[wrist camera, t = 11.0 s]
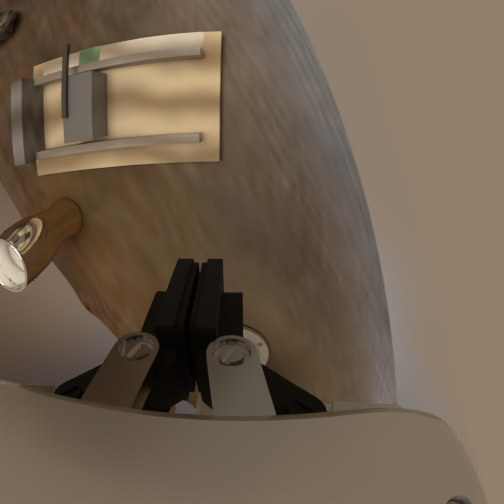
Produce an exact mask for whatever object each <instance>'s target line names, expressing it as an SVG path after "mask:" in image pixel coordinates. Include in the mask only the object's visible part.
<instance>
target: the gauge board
mask: <svg viewBox="0 0 504 504" xmlns="http://www.w3.org/2000/svg"><path fill="white" fill-rule="evenodd" d="M221 56H222V32H221V31H220V32H194V33H181V34H171V35H162V36H154V37H147V38H141V39H135V40H129V41H124V42H119V43H114V44H109V45H104V46H97V47H92V48H89V49H85V50H81V51H80V52H77V53H73V54H70V55H69V73H68V76H71V75H75V74H79V73H83V72H87V71H97V72H101V73H106V119H107V136H104V137H100V138H96V139H91V140H84V141H78V142H72V143H66V144H64V130H63V119H62V112H61V80H62V57H60V58H57V59H54V60H51V61H48V62H45V63H43V64H40V65H37V66H35V67H34V76H33V79H20V80H17V81H15V82H13V83H11V124H12V141H13V153H14V163H15V166H18V165H23V164H27V163H30V162H32V161H35V160H36V162H37V171H38V176H39V175H46V174H53V173H60V172H67V171H75V170H84V169H93V168H102V167H113V166H125V165H138V164H154V163H174V162H209V161H220V103H221Z"/></svg>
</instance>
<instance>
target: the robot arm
mask: <svg viewBox="0 0 504 504" xmlns="http://www.w3.org/2000/svg"><path fill="white" fill-rule="evenodd" d="M268 357H269V350H268V345H267V343H266V341H265V339H264V338H263V337H262V335H260V334H259V333H258V332H257V331H255V330H253V329H251V328H248V327H245V326H243V296H242V293H226V292H224V284H223V259H208V262H207V263H202V267H201V271H200V272H199V263H194V260H193V259H178V261H177V264H176V266H175V269H174V272H173V274H172V277H171V280H170V283H169V285H168V288H167V291H166V292H164V291H158V292H156V294H155V297H154V299H153V302H152V304H151V307H150V309H149V312H148V314H147V317H146V319H145V322H144V325H143V327H142V330H141V332H134V333H130V334H127V335H124V336H123V337H121V338H120V339H119V340H118V341H117V342H116V343H115V345H114V346H113V348H112V349H111V351H110V352H109V354H108V356H107V357H106V359H105V360H104V362H103V363H102V364H101V365H99V366H97V367H95V368H93V369H91V370H89V371H87V372H85V373H83V374H81V375H79V376H77V377H75V378H73V379H71V380H69V381H67V382H65V383H63V384H61V385H60V386H59V387H58V388H57V389H56V388H55V387H54V385H23V384H16V383H12V382H8V381H4V380H1V379H0V504H488V503H487V500H486V497H485V494H484V492H483V489H482V486H481V483H480V481H479V478H478V476H477V474H476V471H475V469H474V467H473V465H472V463H471V460H470V458H469V456H468V454H467V452H466V450H465V449H464V447H463V445H462V443H461V442H460V440H459V439H458V437H457V436H456V434H455V432H454V431H453V430H452V429H451V427H450V426H449V425H448V424H447V423H446V422H445V421H443V420H442V419H441V418H439V417H437V416H435V415H433V414H430V413H427V412H423V411H419V410H412V409H405V408H402V407H400V406H398V405H394V404H375V403H351V402H336V401H333V403H332V405H331V404H323V402H322V401H320V400H319V399H318V398H317V397H315V396H313V395H311V394H310V393H308V392H306V391H305V390H303V389H301V388H300V387H298V386H296V385H295V384H293V383H291V382H290V381H288V380H287V379H285V378H283V377H282V376H280V375H279V374H277V373H275V372H274V371H272V370H271V369H269V368H268V367H266V366H265V365H266V363H267V361H268ZM196 380H197V386H198V394H197V403H196V413H195V415H191V414H177V413H175V404H177V403H178V402H180V401H182V400H185V401H188V398H189V392H194V391H195V385H196Z"/></svg>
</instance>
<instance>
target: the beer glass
mask: <svg viewBox="0 0 504 504" xmlns="http://www.w3.org/2000/svg"><path fill="white" fill-rule="evenodd" d="M81 227H82V214H81V211H80V209H79V208H78V206H77V205H76V204H75V203H74V202H73V201H72V200H70V199H67V198H60V199H58V200H56V201H55V202H53V203H52V204H51V206H50V207H49V208H48V209H47V210H45V211H43V212H40V213H37V214H34V215H31V216H28V217H25V218H23V219H21V220H19V221H17V222H16V223H14V224H13V225H11V226H10V227H8V228H7V229H6V230H5V231H3V232H2V233H1V234H0V284H1V285H2V286H3V287H5V288H6V289H7V290H9V291H12V292H21V291H22V290H24V289H25V287H26V286H28V285H29V284H30V283H31V282H32V281H34V280H35V279H36V278H37V277H38V276H39V275H40V274H41V273H42V272H43V271H44V270H45V269H46V267H48V265H49V264H50V263H51V261H52V260H53V258H54V257H55V255H56V254H57V252H58V250H59V249H60V247H61V246H62V244H63V243H64V242H65V241H66V240H68V239H70V238H72V237H74V236H76V235H77V234H78V233H79V231H80V230H81Z"/></svg>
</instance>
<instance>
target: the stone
mask: <svg viewBox="0 0 504 504" xmlns="http://www.w3.org/2000/svg"><path fill="white" fill-rule="evenodd" d="M15 18H16V14H15V13H12V10H9V11H0V45H1V44H2V43H3V41H4V39H5V38H7V37H9V36H10V35H11V34H12V31H13V23H14V21H15Z"/></svg>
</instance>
